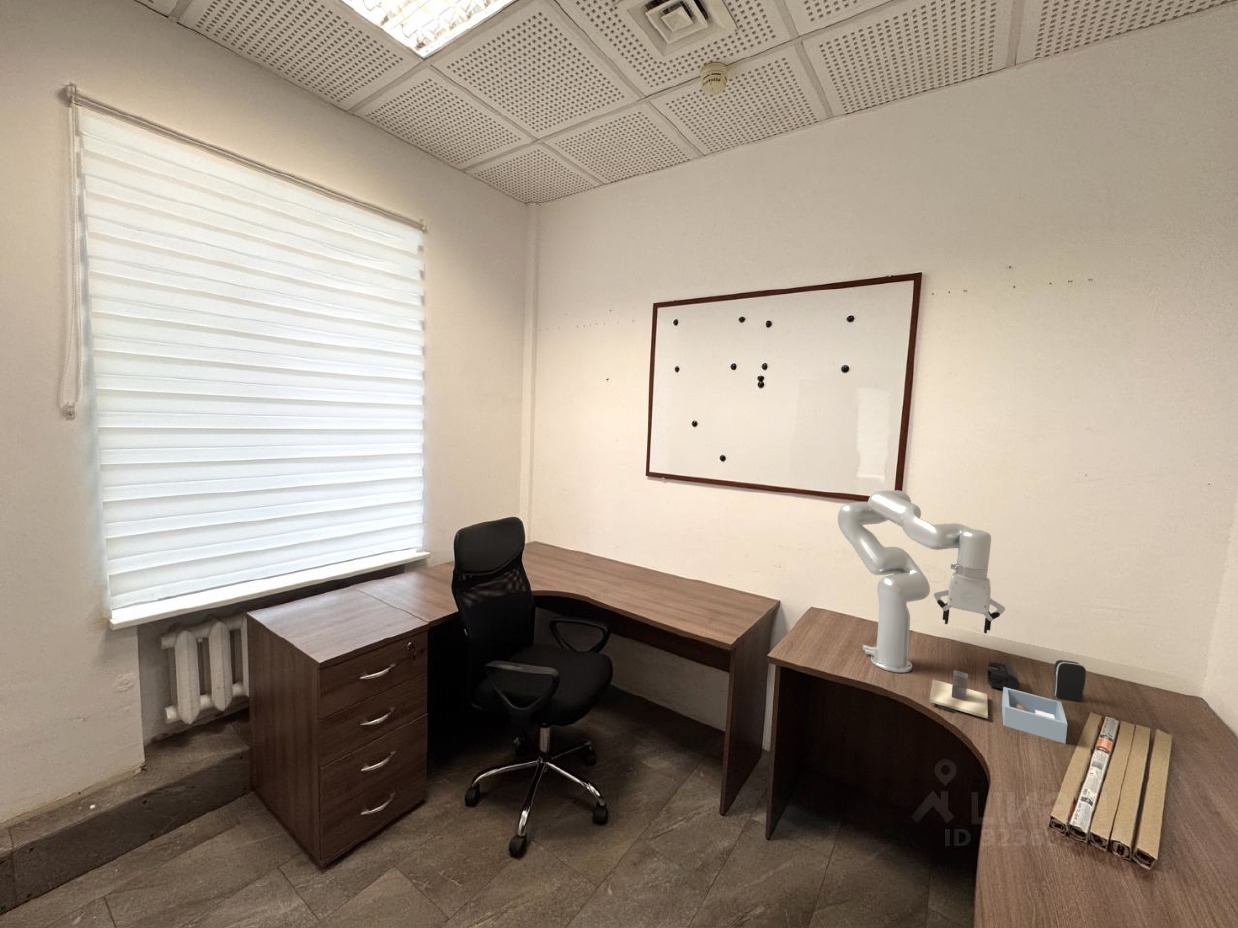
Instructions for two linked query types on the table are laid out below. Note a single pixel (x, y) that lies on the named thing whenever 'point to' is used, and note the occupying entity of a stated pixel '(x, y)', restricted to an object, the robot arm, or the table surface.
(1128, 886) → the table surface
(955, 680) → the lid
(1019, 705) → the cork ball
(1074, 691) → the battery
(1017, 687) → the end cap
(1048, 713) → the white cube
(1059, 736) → the box
